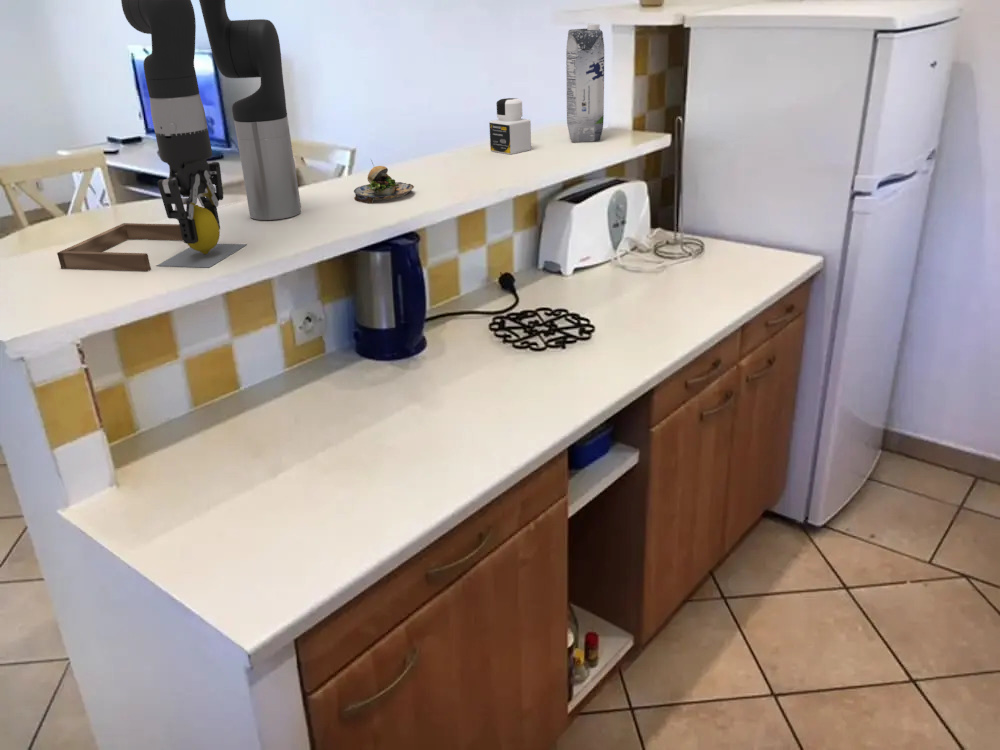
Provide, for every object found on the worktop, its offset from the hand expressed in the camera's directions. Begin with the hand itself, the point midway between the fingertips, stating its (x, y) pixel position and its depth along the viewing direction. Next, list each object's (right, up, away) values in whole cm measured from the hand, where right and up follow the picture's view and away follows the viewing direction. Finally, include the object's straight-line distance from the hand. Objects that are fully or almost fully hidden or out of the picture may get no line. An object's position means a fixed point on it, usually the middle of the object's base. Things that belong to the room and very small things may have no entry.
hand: (202, 236), depth 133 cm
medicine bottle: (+50, +32, +70) cm, 92 cm away
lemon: (0, -3, +1) cm, 3 cm away
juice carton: (+68, +37, +80) cm, 112 cm away
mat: (0, -3, +1) cm, 3 cm away
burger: (+24, +13, +33) cm, 43 cm away
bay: (-12, -2, +4) cm, 13 cm away
